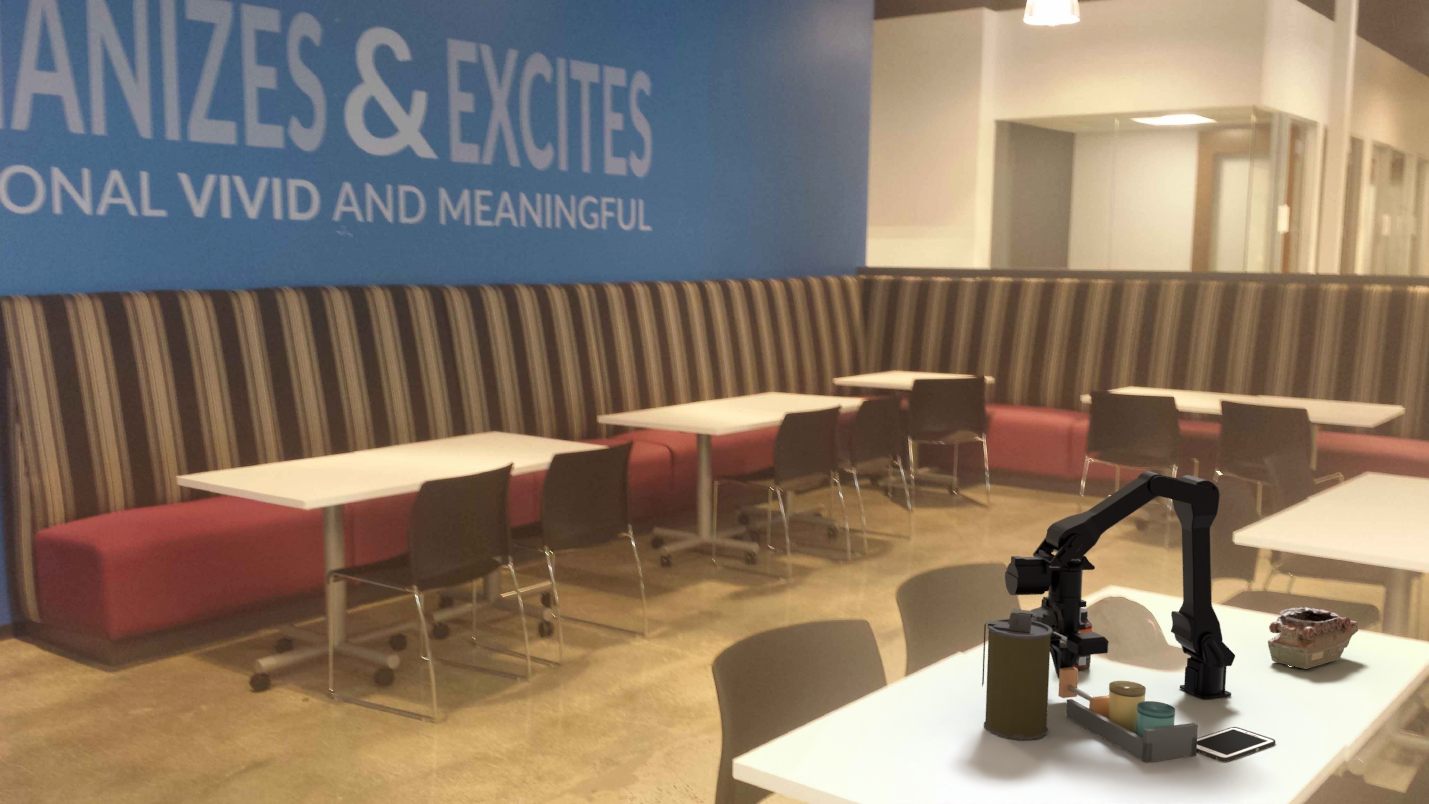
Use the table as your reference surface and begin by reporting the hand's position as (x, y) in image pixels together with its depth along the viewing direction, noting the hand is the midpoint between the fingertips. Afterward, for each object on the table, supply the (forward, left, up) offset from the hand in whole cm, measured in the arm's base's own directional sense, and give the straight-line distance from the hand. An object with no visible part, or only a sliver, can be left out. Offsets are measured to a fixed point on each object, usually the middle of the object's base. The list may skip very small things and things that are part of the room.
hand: (1061, 678), depth 218 cm
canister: (+17, +11, -4) cm, 20 cm away
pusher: (0, +8, -3) cm, 8 cm away
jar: (0, +26, -4) cm, 26 cm away
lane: (0, +19, -4) cm, 19 cm away
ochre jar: (0, +18, -4) cm, 18 cm away
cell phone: (-13, +27, -4) cm, 31 cm away
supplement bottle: (-13, -15, -4) cm, 20 cm away
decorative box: (-62, -6, -4) cm, 63 cm away
